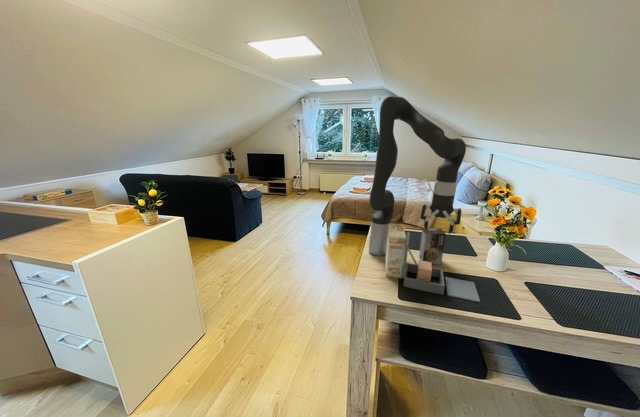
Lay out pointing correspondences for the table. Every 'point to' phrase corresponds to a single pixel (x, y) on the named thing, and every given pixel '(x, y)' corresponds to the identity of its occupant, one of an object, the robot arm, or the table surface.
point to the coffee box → (432, 245)
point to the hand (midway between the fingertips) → (437, 231)
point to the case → (419, 283)
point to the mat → (461, 289)
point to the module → (424, 271)
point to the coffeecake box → (395, 250)
